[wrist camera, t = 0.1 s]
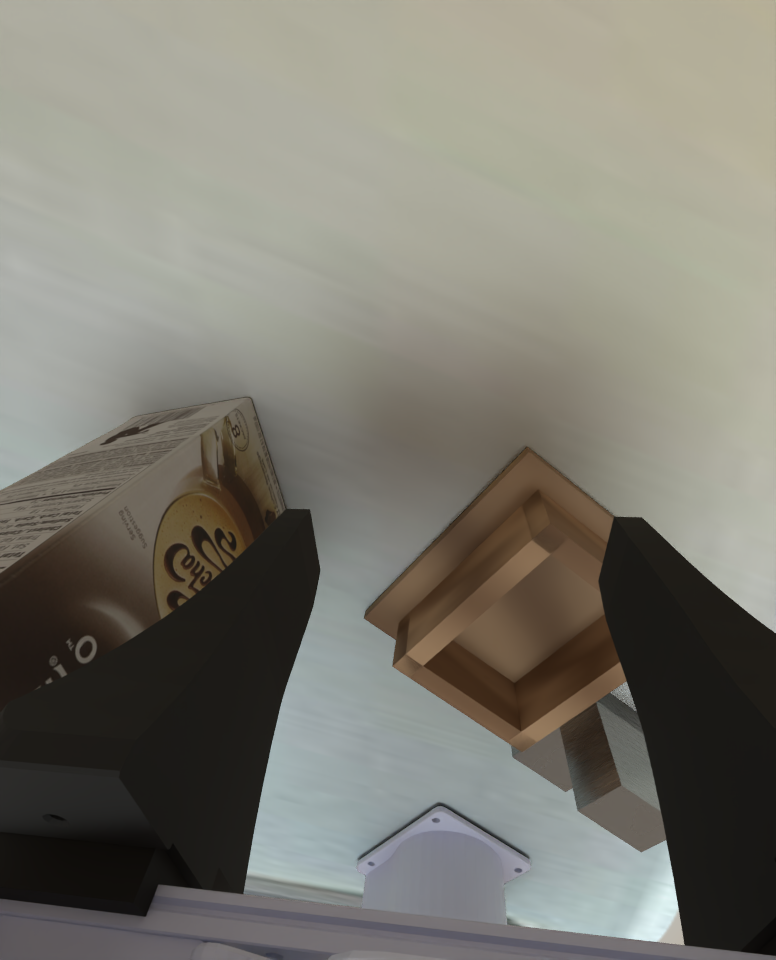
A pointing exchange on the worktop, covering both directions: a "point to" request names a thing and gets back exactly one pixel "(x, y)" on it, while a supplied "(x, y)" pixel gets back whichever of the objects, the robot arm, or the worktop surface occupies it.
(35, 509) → the coffee box
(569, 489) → the tray
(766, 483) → the worktop surface
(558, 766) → the brushed steel block
